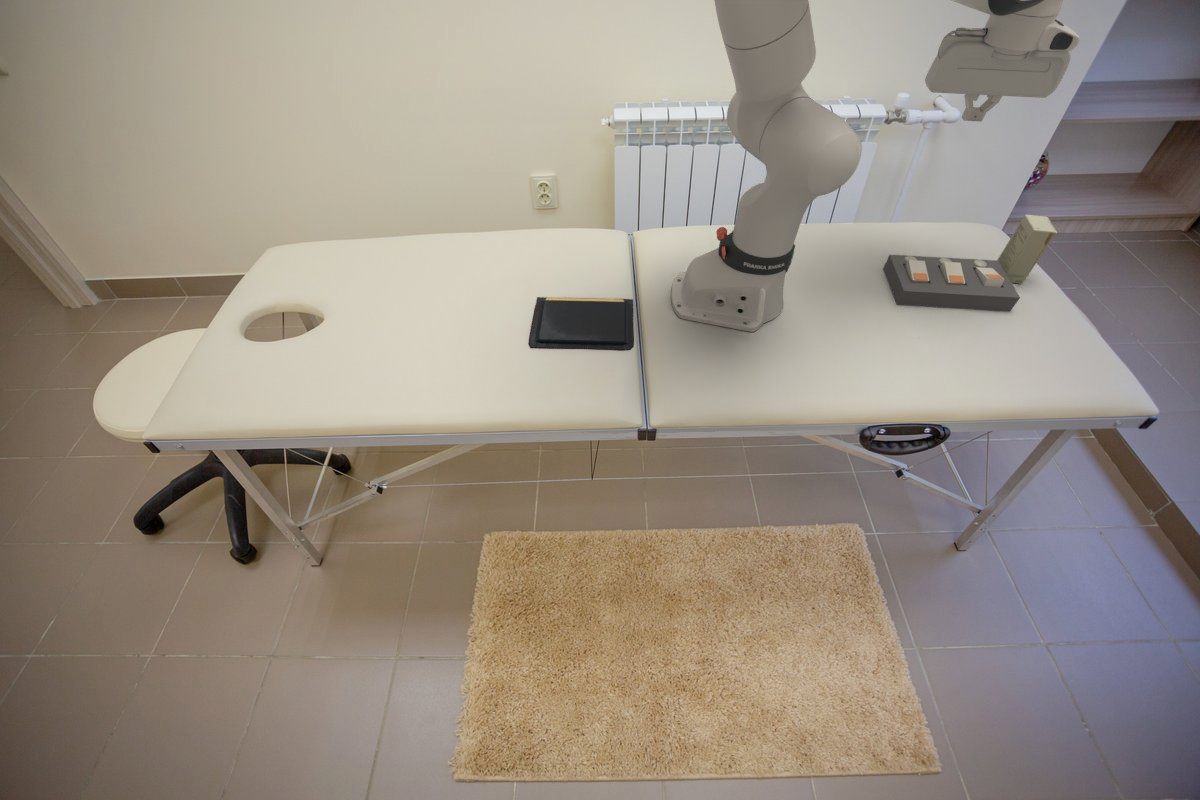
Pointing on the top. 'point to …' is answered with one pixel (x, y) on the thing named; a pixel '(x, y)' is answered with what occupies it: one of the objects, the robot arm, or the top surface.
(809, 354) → the top surface
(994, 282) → the rocker right
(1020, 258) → the skincare box
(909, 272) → the rocker left
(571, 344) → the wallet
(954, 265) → the rocker middle
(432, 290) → the top surface
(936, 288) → the switch panel
